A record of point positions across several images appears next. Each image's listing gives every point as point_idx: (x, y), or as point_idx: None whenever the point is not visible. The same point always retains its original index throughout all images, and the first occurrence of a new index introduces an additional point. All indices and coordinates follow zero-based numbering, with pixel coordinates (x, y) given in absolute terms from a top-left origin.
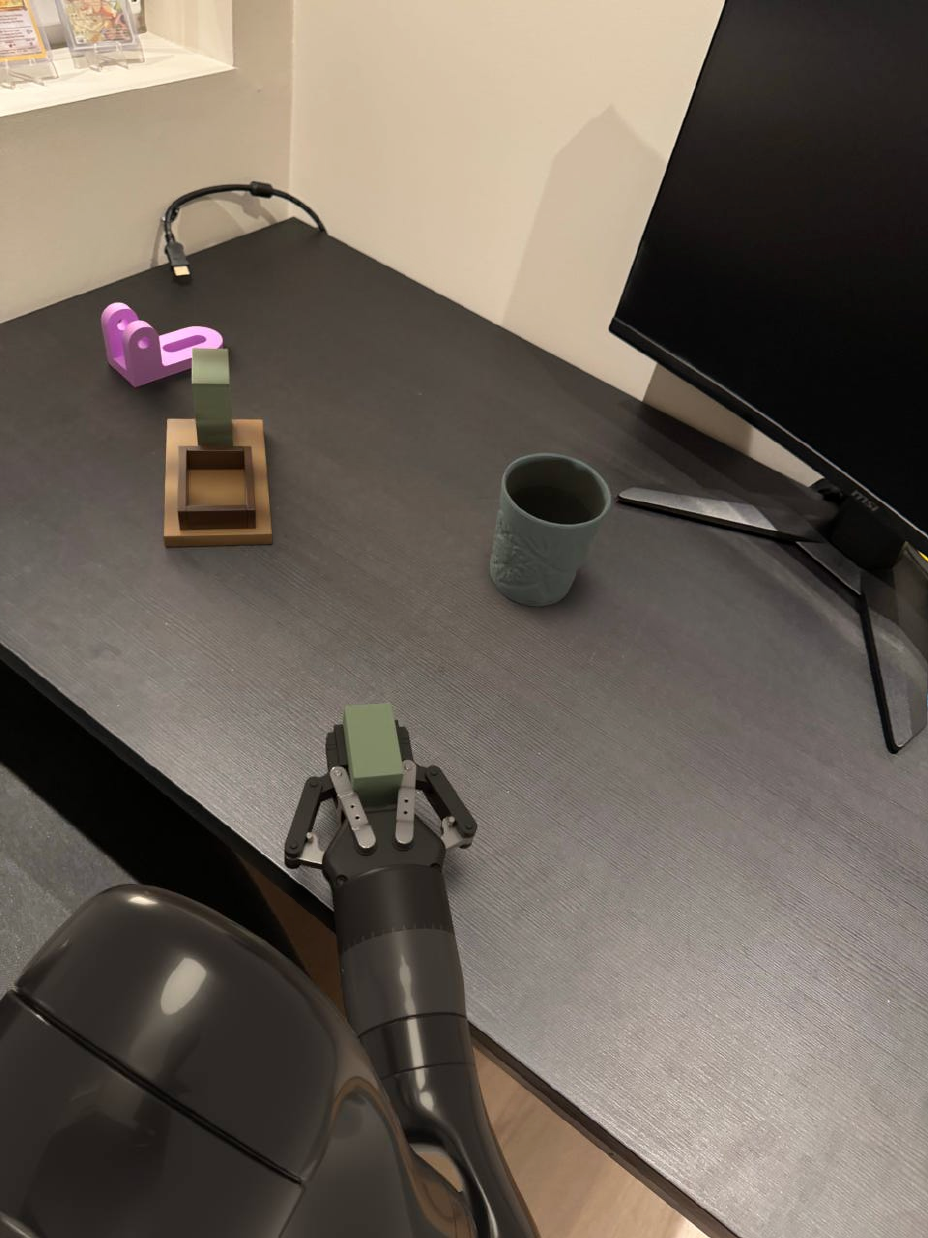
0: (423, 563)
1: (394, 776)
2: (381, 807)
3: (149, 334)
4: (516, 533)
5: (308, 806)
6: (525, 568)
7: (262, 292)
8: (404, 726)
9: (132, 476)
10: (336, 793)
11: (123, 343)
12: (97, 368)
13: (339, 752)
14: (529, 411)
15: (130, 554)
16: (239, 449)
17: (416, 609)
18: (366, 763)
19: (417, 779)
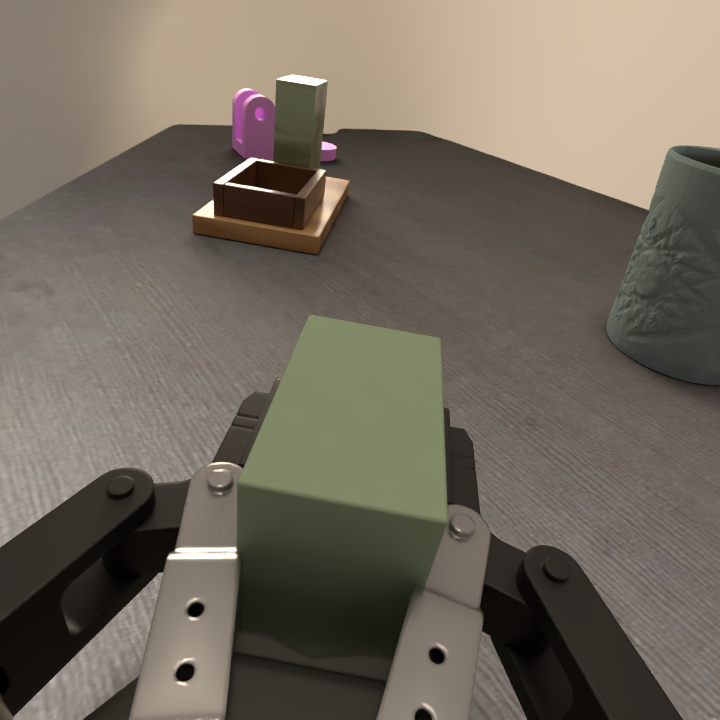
0: (509, 306)
1: (405, 525)
2: None
3: (267, 107)
4: (690, 225)
5: (41, 559)
6: (693, 296)
7: (382, 147)
8: (463, 429)
9: (200, 192)
10: (177, 544)
11: (242, 111)
12: (221, 148)
13: (257, 432)
14: (636, 234)
15: (150, 230)
16: (312, 169)
17: (494, 345)
18: (309, 448)
19: (488, 583)
